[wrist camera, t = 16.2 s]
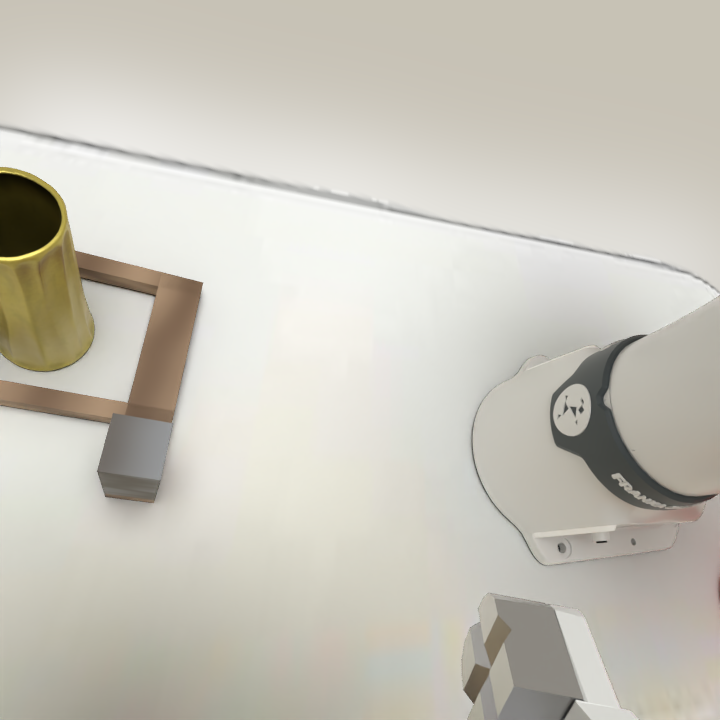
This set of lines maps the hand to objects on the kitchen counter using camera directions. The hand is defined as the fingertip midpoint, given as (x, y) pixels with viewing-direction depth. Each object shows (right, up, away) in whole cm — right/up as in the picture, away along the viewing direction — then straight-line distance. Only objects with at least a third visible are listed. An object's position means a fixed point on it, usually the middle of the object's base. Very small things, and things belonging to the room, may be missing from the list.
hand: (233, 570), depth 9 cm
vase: (-20, +5, +30) cm, 36 cm away
